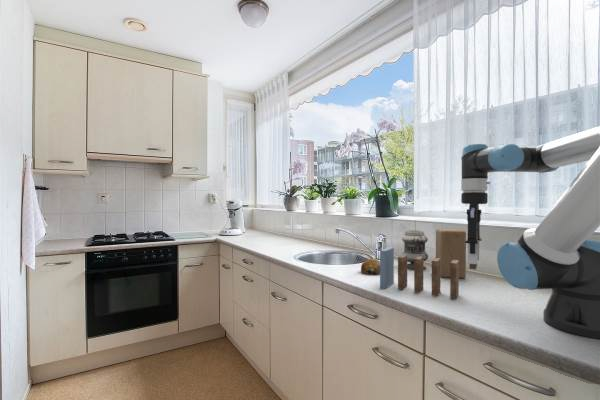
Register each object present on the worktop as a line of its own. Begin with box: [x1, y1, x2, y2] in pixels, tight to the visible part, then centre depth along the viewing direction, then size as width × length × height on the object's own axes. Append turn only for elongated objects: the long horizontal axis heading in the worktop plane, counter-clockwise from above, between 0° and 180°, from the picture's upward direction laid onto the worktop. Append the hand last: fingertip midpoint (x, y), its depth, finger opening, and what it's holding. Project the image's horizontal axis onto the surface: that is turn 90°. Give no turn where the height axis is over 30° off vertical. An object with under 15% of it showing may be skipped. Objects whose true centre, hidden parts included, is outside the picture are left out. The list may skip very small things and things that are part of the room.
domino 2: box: [413, 256, 425, 294], centre depth 110 cm, size 2×6×12 cm, turn 146°
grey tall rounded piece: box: [401, 229, 429, 271], centre depth 147 cm, size 12×12×18 cm
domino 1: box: [397, 254, 408, 291], centre depth 113 cm, size 2×6×12 cm, turn 145°
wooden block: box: [435, 228, 467, 279], centre depth 132 cm, size 10×10×20 cm
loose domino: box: [468, 231, 478, 270], centre depth 100 cm, size 2×6×12 cm, turn 145°
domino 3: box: [431, 257, 441, 297], centre depth 106 cm, size 2×6×12 cm, turn 145°
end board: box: [379, 246, 395, 290], centre depth 116 cm, size 2×10×14 cm, turn 146°
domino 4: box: [449, 260, 460, 300], centre depth 103 cm, size 2×6×12 cm, turn 145°
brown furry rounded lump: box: [360, 258, 380, 276], centre depth 137 cm, size 10×10×8 cm
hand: (473, 261), depth 100 cm, fingers closed on loose domino, 6 cm apart
